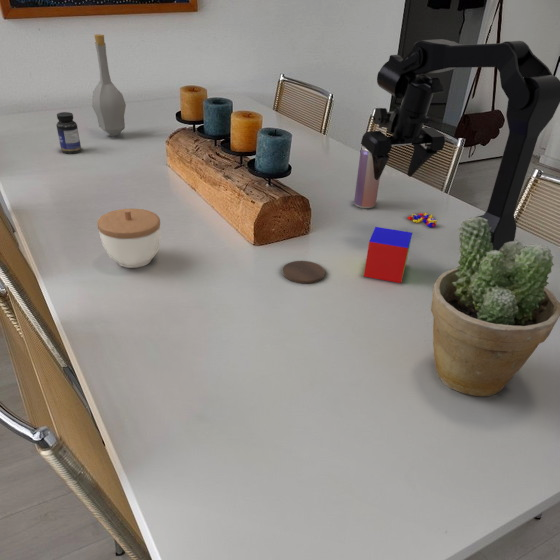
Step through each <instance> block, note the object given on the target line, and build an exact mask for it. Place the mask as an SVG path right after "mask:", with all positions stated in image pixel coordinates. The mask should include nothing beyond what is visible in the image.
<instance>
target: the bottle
mask: <svg viewBox="0 0 560 560" xmlns="http://www.w3.org/2000/svg"><path fill="white" fill-rule="evenodd" d="M93 35H94V44H95V50H96V55H97V62H98V69H99V81H98V83H97V84H96V86H95V87H94V89H93V90H92V98H91V99H92V100H91V101H92V102H91V107H92V109H93V112H94V113H95V115H96V119H97V124H98V127H99V128H100V129H101V130H102V131H104V132H106V133H107V134H108V135H109V136H112V137H116V136H118V135H120V134H121V133H122V132H123V131H124V130H125V128H126V123H125V113H126V107H127V103H126V101H125V98H124V95H123V93H122V92H121V91H120V90H119V89H118V88H117V86H116V85H115V84H114V83H113V82H112V79H111V76H110V70H109V63H108V56H107V49H106V48H107V45H106V41H105V34H100V33H96V34H93Z"/></svg>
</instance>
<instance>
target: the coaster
mask: <svg viewBox="0 0 560 560" xmlns="http://www.w3.org/2000/svg"><path fill="white" fill-rule="evenodd" d="M325 274H326V270H325V268H324V267H323V266H322V265H320V264H318V263H316V262H312V261H309V260H308V261H307V260H296V261H295V260H293V261H291V262H288V263H286V264H285V265H284V266H283V267H282V275H283V276H284V278H286V279H287V280H289V281H290V282H293V283H297V284H315V283H318V282H320V281H321V280H323V279H324V277H325Z"/></svg>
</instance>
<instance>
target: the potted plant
mask: <svg viewBox="0 0 560 560" xmlns="http://www.w3.org/2000/svg"><path fill="white" fill-rule="evenodd" d="M474 217H475V218H474ZM474 217H470V218H467V219H465V220H463V221H461V222H460V225H461V227H460V228H458V233H459V235H458V239H459V243H460V248H459V249H458V251H459V253H460V256H459V260H458V261H457V263H458V264H459V265H458V266H457V267H454V268H451V269H449V270H447V271H445V272H443V273H441V274H440V275H439V277H438V278H437V279H436V280H435V282H434V285H433V289H432V299H431V303H430V312H431V314H432V317H433V323H432V346H433V357H434V365H435V371H436V373H437V376H438V378H439V379H440V381H441V382H442V383H443V384H444V385H445V386H446V387H448V388H449V389H452V390H453V391H457V392H458V393H461V394H464V395H469V396H473V397H474V396H475V397H491V396H493V395H495V394H499V393H500V392H501V391H502V390H503V389H504V388H505V386H506V385H507V384H508V383H509V382H510V381H511V380H512V379H513V377H514V376H515V375H516V374H517V373H518V372H519V371H520V370H521V369H522V368H523V366H524V365H525V364H526V362H527V361H528V359H529V358H530V357H531V356H532V355H533V353H534V352H535V351H536V349H538V347H539V345H540V344H542V343H544V342H545V341H546V340H547V339H548V338H549V336H550V335H551V333H552V331H553V329H554V327H555V325H556V324H557V322H558V320H559V318H560V301H559V300H558V299H557V297H556V296H555V295H554V293H553V292H552V291H550V290H549V289H548V288H547V285H549V282H548V280H549V276H548V275H549V274H551V273H552V267H554V265H555V263H553V258H554V257H555V255H554V254H552V253H551V252H552V250H551V249H550V247H547V246H543V245H542V244H541V243H532V244H529V245H525V244H522V243H521V242H520V241H518V240H514V241H512V242H507V243H504V245H503V247H502V248H500V249H499V251H497V250H493V246H492V245H493V244H492V243H490V241H491V240H490V239H491V236H490V235H491V233H490V232H489V231H490V229H491V228H489V226H488V223H487V221H488V220H486V219H484V218H482V217H478V216H474Z"/></svg>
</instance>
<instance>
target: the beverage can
mask: <svg viewBox="0 0 560 560" xmlns="http://www.w3.org/2000/svg"><path fill="white" fill-rule="evenodd" d="M380 181H381V177H380V178H379V179H378V180H376V179H375V178H374V168H373V158H372V154H371V153H370V152H369V151H368V150H367V149H366V148H365V147H364V146H363V145H362V146H361V149H360V153H359V160H358V168H357V175H356V184H355V189H354V190H355V191H354V197H353V203H354V205H355V206H356V207H357V208H360V209H365V210H367V209H372V208H374V207H375V206H376V205H377V198H378V195H379V194H378V193H379V186H380Z"/></svg>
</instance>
